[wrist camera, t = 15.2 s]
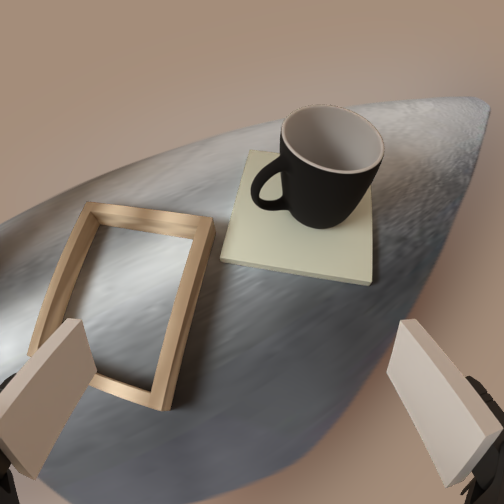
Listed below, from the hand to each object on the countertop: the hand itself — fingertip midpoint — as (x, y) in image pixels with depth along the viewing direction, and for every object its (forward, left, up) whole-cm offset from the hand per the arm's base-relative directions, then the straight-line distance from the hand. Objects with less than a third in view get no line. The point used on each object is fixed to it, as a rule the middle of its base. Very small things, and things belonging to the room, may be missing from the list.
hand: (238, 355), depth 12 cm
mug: (+2, +18, -15) cm, 23 cm away
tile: (+3, +18, -16) cm, 24 cm away
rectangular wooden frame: (-14, +5, -16) cm, 22 cm away
